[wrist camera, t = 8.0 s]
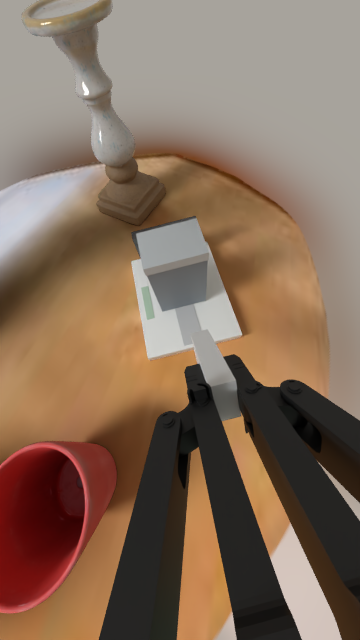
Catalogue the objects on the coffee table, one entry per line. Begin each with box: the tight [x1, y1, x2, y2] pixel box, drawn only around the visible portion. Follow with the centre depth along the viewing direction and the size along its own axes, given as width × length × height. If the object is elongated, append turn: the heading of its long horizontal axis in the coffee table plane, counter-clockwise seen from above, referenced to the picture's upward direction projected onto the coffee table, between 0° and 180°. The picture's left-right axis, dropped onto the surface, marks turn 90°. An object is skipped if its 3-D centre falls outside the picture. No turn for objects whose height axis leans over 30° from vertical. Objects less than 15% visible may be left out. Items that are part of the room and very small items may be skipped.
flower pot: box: [0, 441, 117, 613], centre depth 21 cm, size 11×11×10 cm
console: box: [131, 216, 242, 361], centre depth 30 cm, size 18×14×8 cm
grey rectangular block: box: [136, 218, 209, 312], centre depth 27 cm, size 5×7×11 cm
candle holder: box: [22, 0, 166, 226], centre depth 33 cm, size 11×11×24 cm
